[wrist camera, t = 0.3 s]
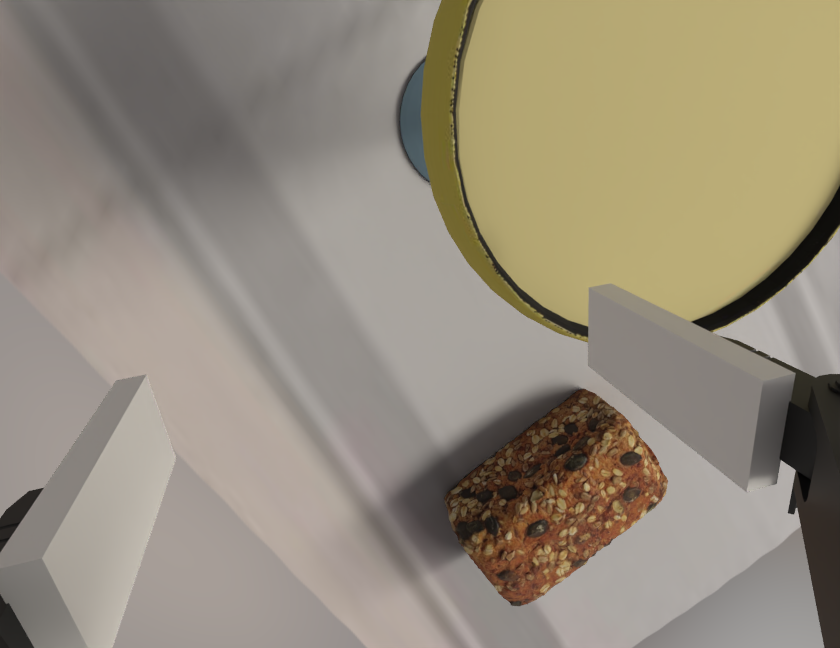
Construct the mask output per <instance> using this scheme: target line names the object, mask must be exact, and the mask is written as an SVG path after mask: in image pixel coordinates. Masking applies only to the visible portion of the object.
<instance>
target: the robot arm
mask: <svg viewBox="0 0 840 648" xmlns="http://www.w3.org/2000/svg"><path fill="white" fill-rule="evenodd" d="M588 366H589V367H590V368H592V369H593V370H594V371H595V372H597V373H598V374H599V375H600V376H602V377H603V378H604V379H605V380H607V381H608V382H609V383H610V384H612V385H613V386H614V387H615V388H617V389H618V390H619V391H620V392H622V393H623V394H624V395H625V396H627V397H628V398H629V399H630V400H632V401H633V402H634V403H635V404H637V405H638V406H639V407H640V408H642V409H643V410H644V411H645V412H647V413H648V414H649V415H650V416H652V417H653V418H654V419H655V420H657V421H658V422H659V423H660V424H662V425H663V426H664V427H665V428H667V429H668V430H669V431H670V432H672V433H673V434H674V435H676V436H677V437H678V438H679V439H681V440H682V441H683V442H684V443H686V444H687V445H688V446H689V447H691V448H692V449H693V450H694V451H696V452H697V453H698V454H699V455H701V456H702V457H703V458H704V459H706V460H707V461H708V462H709V463H711V464H712V465H713V466H714V467H716V468H717V469H718V470H719V471H721V472H722V473H723V474H724V475H726V476H727V477H728V478H729V479H731V480H732V481H733V482H734V483H736V484H737V485H738V486H739V487H741V488H742V489H743V490H744V491H746V492H750V491H753V490H757V489H760V488H764V487H767V486H770V485H774V484H777V478H778V473H779V467H780V461H781V460H782V461H783V462H785V463H786V464H788V465H789V466H791V467H792V468H794V469H795V470H796V473H795V478H794V483H793V489H792V494H791V499H790V505H789V510H788V513H790V514H794V513H795V509H796V508H798V513H799V518H800V523H801V528H802V533H803V539H804V544H805V549H806V554H807V559H808V564H809V570H810V575H811V580H812V585H813V590H814V596H815V601H816V606H817V611H818V616H819V622H820V626H821V632H822V637H823V642H824V647H825V648H840V374H828V375H822V376H819V377H817V378H815V377H813V376H811V375H809V374H807V373H805V372H803V371H801V370H798V369H796V368H794V367H792V366H790V365H788V364H786V363H784V362H782V361H780V360H777V359H775V358H770V356H769V355H767V354H765V353H763V352H761V351H756V349H754V348H752V347H750V346H748V345H746V344H744V343H742V342H740V341H737V340H733V339H729V338H725V337H722V336H718V335H716V334H714V333H712V332H710V331H708V330H706V329H704V328H702V327H700V326H698V325H696V324H694V323H692V322H689V321H687V320H685V319H683V318H681V317H679V316H677V315H675V314H673V313H671V312H669V311H667V310H665V309H663V308H661V307H659V306H657V305H654V304H652V303H650V302H648V301H646V300H644V299H642V298H640V297H638V296H636V295H634V294H632V293H630V292H628V291H626V290H624V289H622V288H620V287H617V286H615V285H613V284H611V283H609V284H604V285H599V286H594V287H589V301H588ZM175 460H176V457H175V454H174V451H173V448H172V445H171V442H170V440H169V437H168V434H167V431H166V428H165V425H164V423H163V420H162V417H161V414H160V411H159V408H158V406H157V403H156V400H155V397H154V394H153V391H152V388H151V386H150V383H149V380H148V377H147V375H142V376H137V377H132V378H127V379H122V380H117V381H116V382H115V383H114V385H113V386H112V388H111V389H110V391H109V392H108V394H107V395H106V397H105V398H104V400H103V401H102V403H101V404H100V406H99V407H98V409H97V410H96V412H95V413H94V415H93V416H92V418H91V419H90V421H89V422H88V423H87V425H86V426H85V428H84V429H83V431H82V433H81V434H80V435H79V437H78V438H77V440H76V441H75V443H74V444H73V446H72V447H71V449H70V450H69V452H68V453H67V455H66V456H65V458H64V459H63V461H62V462H61V464H60V465H59V467H58V468H57V469H56V471H55V472H54V474H53V475H52V477H51V478H50V480H49V481H48V483H47V484H46V486H45V487H44V488H41V489H36V490H32V491H29V492H27V493H26V494H25V495H24V496H23V497H21V498H20V499H19V500H18V501H16V502H15V503H14V504H13V505H12V506H11V507H9V508H8V509H7V510H6V511H5V513H4V514H3V515H2V516H1V518H0V648H112V647H113V644H114V641H115V638H116V635H117V632H118V629H119V626H120V624H121V621H122V618H123V615H124V611H125V609H126V606H127V603H128V600H129V597H130V594H131V591H132V588H133V585H134V582H135V579H136V576H137V573H138V570H139V567H140V564H141V561H142V558H143V555H144V552H145V549H146V546H147V543H148V540H149V537H150V534H151V532H152V528H153V525H154V523H155V520H156V517H157V514H158V511H159V508H160V505H161V502H162V499H163V496H164V493H165V490H166V487H167V484H168V481H169V478H170V475H171V472H172V469H173V466H174V463H175Z"/></svg>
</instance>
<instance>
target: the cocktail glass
mask: <svg viewBox="0 0 840 648" xmlns="http://www.w3.org/2000/svg"><path fill="white" fill-rule="evenodd" d="M400 129H401V136H402V140H403V144H404V147H405V150H406V152H407V155H408V157H409V159H410V160H411V162H412V163H413V165H414V167H415V168H416V169H417V170H418V171H419V172H420V174H421V175H422V176H424V177H425V178H426V179H427V180H428V181H429V182H430V183H431V187H432V192H433V196H434V199H435V201H436V204H437V206H438V208H439V211H440V213H441V215H442V218H443V220H444V223H445V225H446V227H447V230H448V232H449V234H450V235H451V237H452V239H453V240H454V242H455V243H456V245H457V247H458V248H459V250H460V251H461V253H462V255H463V256H464V258H465V259H466V261H467V262H468V264H469V265H470V266H471V267H472V268H473V269H474V270H475V272H476V273H477V274H478V275H479V276H480V277H481V278H482V279H483V281H484V282H485V283H486V284H487V285H488V286H489V287H490V288H491V289H492V290H493V291H494V292H495V293H496V294H497V295H499V296H500V297H501V298H503V299H504V300H505V301H506V302H508V303H509V304H510V305H512V306H513V307H514V308H515V309H517V310H518V311H519V312H520V313H522V314H523V315H525V316H527V317H528V318H530V319H532V320H534V321H536V322H538V323H540V324H542V325H544V326H546V327H547V328H549V329H551V330H553V331H555V332H557V333H560V334H562V335H565V336H569V337H572V338H575V339H578V340H582V341H585V342H588V301H589V287H594V286H599V285H604V284H609V283H611V284H613V285H615V286H617V287H620V288H622V289H624V290H626V291H628V292H630V293H632V294H634V295H636V296H638V297H640V298H642V299H644V300H646V301H648V302H650V303H652V304H654V305H657V306H659V307H661V308H663V309H665V310H667V311H669V312H671V313H673V314H675V315H677V316H679V317H681V318H683V319H685V320H687V321H689V322H692V323H694V324H696V325H698V326H700V327H702V328H704V329H706V330H708V331H710V332H714V331H717V330H719V329H722V328H724V327H727V326H729V325H730V324H732V323H734V322H736V321H737V320H739V319H741V318H743V317H744V316H746V315H748V314H750V313H752V312H753V311H755V310H757V309H758V308H759V307H761V306H762V305H763V304H765V303H766V302H767V301H769V300H770V299H771V298H773V297H774V296H775V295H776V294H778V293H779V292H780V291H782V290H783V289H784V288H785V287H786V286H787V285H788V284H790V283H791V282H792V281H793V280H794V279H795V278H796V277H797V276H798V275H799V274H800V273H801V272H802V271H803V270H804V269H805V268H806V267H808V266H809V265H810V263H811V262H812V261H813V260H814V259H815V258H816V256H817V255H818V254H819V253H820V252H821V251H822V249H823V248H824V247H825V246H826V245H827V244H828V242H829V241H830V240H831V239H832V238H833V236H834V235H835V233H836V232H837V230H838V229H839V227H840V0H442V1H441V4H440V6H439V9H438V12H437V14H436V17H435V20H434V24H433V28H432V33H431V37H430V42H429V47H428V51H427V56H426V61H425V62H423V63H422V64H421V65H420V67H419V68H418V69H417V71H416V72H415V73H414V74H413V76H412V78H411V80H410V81H409V83H408V85H407V88H406V90H405V93H404V96H403V100H402V105H401V110H400Z"/></svg>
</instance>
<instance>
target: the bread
mask: <svg viewBox="0 0 840 648" xmlns="http://www.w3.org/2000/svg"><path fill="white" fill-rule="evenodd" d="M667 483H668V480H667V478H666V476H665V475H664V474H663V472H662V470H661V468H660V466H659V462H658V460H657V458H656V456H655V455H654V453H653V452H652V450H651V449H650V448H649V447H648V445H647V444H646V443H645V442H644V441H643V440H642V439H641V438H640V437H639V434H638V432H637V431H636V430H635V429H634V428H633V427H632V425H631V424H630V422H629V421H628V420H627V419H626V418H625V417H624V416H623V415H622V414H621V413H619V412H618V411H617V410H616V409H615V408H614V407H612V406H610V405H609V404H608V403H606V402H605V401H604V400H603V399H602V398H600V397H599V396H597V395H596V394H595V393H593V392H590V391H588V390H586V389H582V390H578V391H577V392H575V393H574V394H573V395H571V396H570V397H569V399H568V400H566V401H565V402H563V403H562V404H561V405H559V406H558V407H557V408H555V409H553V410H551V411H550V412H549V413H548V414H547V416H546V417H544V418H542V419H540V420H538V421H536V422H535V423H533V424H532V426H531V427H530V428H529V429H528V430H525V431H524V432H523V433H522V434H521V435H519V436H517V437H516V438H515V440H513V441H511V442H509V443H508V444H507V445H506V446H505V447H504V448H502V449H500V450H499V451H498V452H497V453H496V456H495V457H493V458H491V459H487V460H486V461H485V462H484V463H483V464H481V465H480V466H479V467H477V468H476V469H475V470H473V471H472V472H471V473H470V474H469V475H468V476H467V477H465V478H464V479H462V480H461V481H460V482H459V484H458V485H457V487H456V488H455V489H453V490H451V491H449V492H448V493H447V495H446V497H445V498H444V499H445V504H446V506H447V509H448V513H449V521H450V522H451V526H452V529H453V531H454V532H455V533H456V535H457V536H458V539H459V543H460V544H461V545H462V546H463V547H464V549H465V551H466V553H467V554H468V555H469V556H470V558H471V559H472V560H473V561H474V563H475V564H476V565H477V566H478V568H479V569H481V571H482V572H483V574H484V575H485V576H486V578H487V579H488V580H489V581H490V582H491V583H492V585H493V586H494V587H495V589H496V590H497V591H498V593H499V594H500V595H501V596H502V597H503V598H504V599H506V600H508V601H509V602H510V603H511V605H512V606H521V605H525V604H528V603H530V602H532V601H535V600H537V599H538V598H539V597H541V596H542V595H545V594H546V593H547V591H549V590H550V589H551V588H552V587H553V586H555V585H556V584H558V583H560V582H561V581H563V580H564V579H565V578H567V577H568V576H570V574H571V573H572V572H574V571H575V570H577V569H578V568H580V567H581V566H583V565H585V564H586V563H587V561H588V559H589V558H590V557H592V556H594V555H595V554H596V552H597V551H599V550H601V549H602V548H603V547H606V546H607V545H609V544H610V543H611V541H612V540H613V539H615V538H616V537H617V536H619V535H620V534H622V533H623V532H625V531H626V530H627V529H629V528H630V527H631V526H633V525H634V523H636V522H637V520H639V519H641V518H642V517H643V516H644V515H646V514H647V513H648V512H650V511H651V510H652V509H654V508H655V507H656V505H657V504H658V503H659V502H660V501H661V500H662V498H663V497H664V496H665V494H666V489H667Z"/></svg>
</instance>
